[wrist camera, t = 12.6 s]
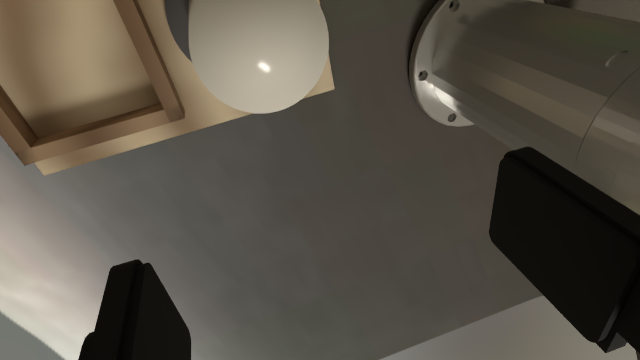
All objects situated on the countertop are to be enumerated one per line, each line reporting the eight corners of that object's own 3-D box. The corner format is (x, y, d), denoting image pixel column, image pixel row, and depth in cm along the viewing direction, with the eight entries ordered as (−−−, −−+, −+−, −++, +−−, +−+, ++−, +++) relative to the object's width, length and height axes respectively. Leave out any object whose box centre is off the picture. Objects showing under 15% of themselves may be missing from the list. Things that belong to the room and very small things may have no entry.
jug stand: (291, -138, 22) (301, -145, 20) (330, 84, 30) (340, 95, 28) (-114, -52, 20) (-149, -50, 18) (48, 168, 28) (37, 186, 26)
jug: (298, 49, 27) (338, 92, 20) (210, 75, 26) (218, 129, 19) (264, -102, 22) (302, -120, 15) (153, -77, 21) (134, -82, 14)
